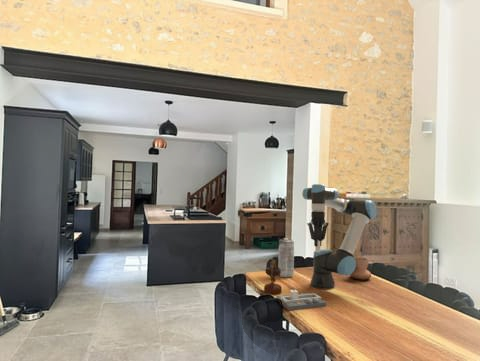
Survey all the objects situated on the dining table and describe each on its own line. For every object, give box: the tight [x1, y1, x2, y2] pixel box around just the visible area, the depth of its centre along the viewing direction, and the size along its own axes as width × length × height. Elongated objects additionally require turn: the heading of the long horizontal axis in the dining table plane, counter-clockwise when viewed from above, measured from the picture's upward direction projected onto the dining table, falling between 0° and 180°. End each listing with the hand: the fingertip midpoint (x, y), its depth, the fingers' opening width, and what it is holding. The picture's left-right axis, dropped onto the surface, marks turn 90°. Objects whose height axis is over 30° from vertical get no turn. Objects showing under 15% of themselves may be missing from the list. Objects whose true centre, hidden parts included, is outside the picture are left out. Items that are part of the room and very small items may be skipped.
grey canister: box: [277, 237, 295, 278], centre depth 226 cm, size 9×10×27 cm
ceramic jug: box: [349, 256, 372, 281], centre depth 222 cm, size 18×14×14 cm
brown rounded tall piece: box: [263, 258, 283, 296], centre depth 191 cm, size 15×11×20 cm
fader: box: [289, 289, 299, 300], centre depth 171 cm, size 3×4×5 cm
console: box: [275, 292, 327, 311], centre depth 172 cm, size 22×16×4 cm
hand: (317, 251), depth 180 cm, fingers closed
